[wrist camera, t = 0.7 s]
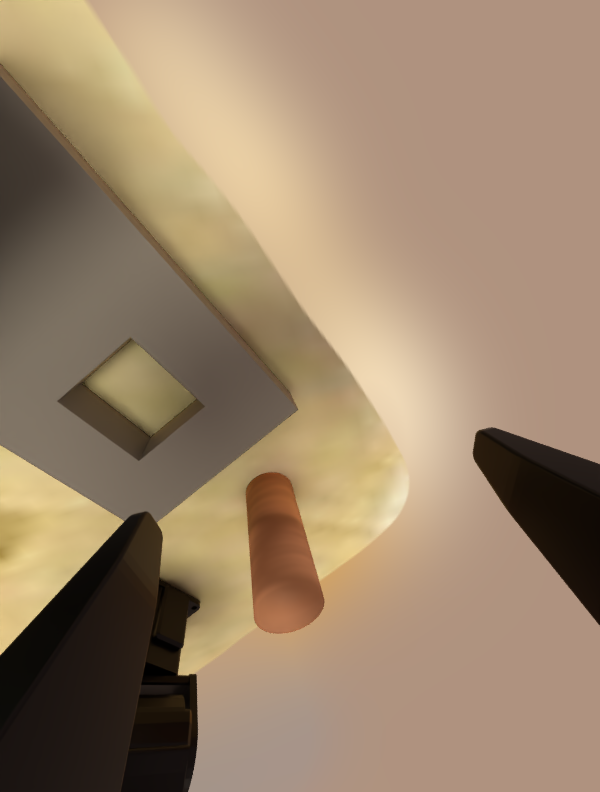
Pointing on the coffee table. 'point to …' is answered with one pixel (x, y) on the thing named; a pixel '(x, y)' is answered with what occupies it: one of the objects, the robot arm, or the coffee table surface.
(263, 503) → the peg
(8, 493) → the coffee table surface
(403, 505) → the coffee table surface
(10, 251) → the socket deck
